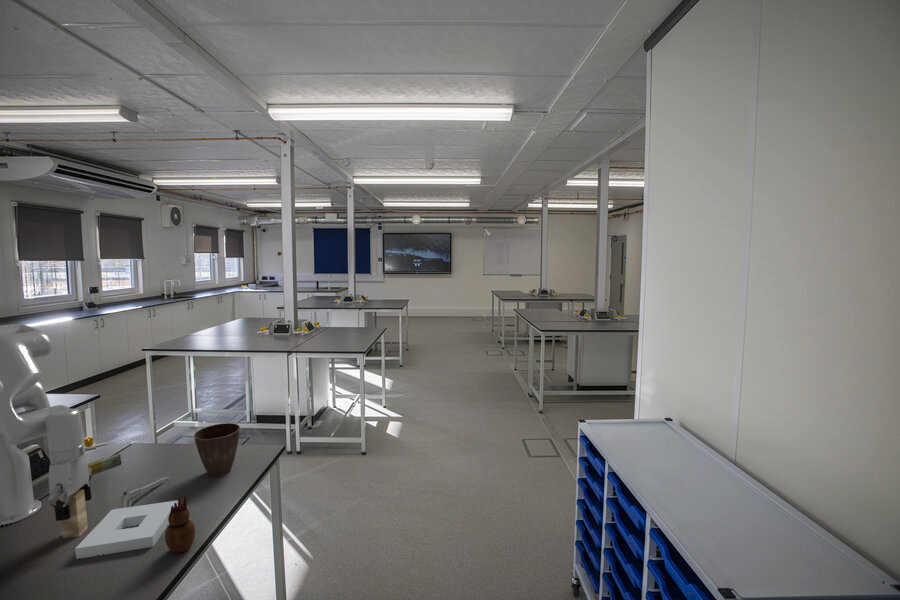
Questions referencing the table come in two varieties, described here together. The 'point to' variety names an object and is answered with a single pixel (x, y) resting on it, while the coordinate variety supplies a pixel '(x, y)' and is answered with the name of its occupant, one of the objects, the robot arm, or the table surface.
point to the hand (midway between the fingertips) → (74, 509)
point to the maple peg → (75, 516)
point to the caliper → (138, 493)
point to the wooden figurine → (179, 528)
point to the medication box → (105, 464)
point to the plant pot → (217, 447)
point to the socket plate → (126, 530)
